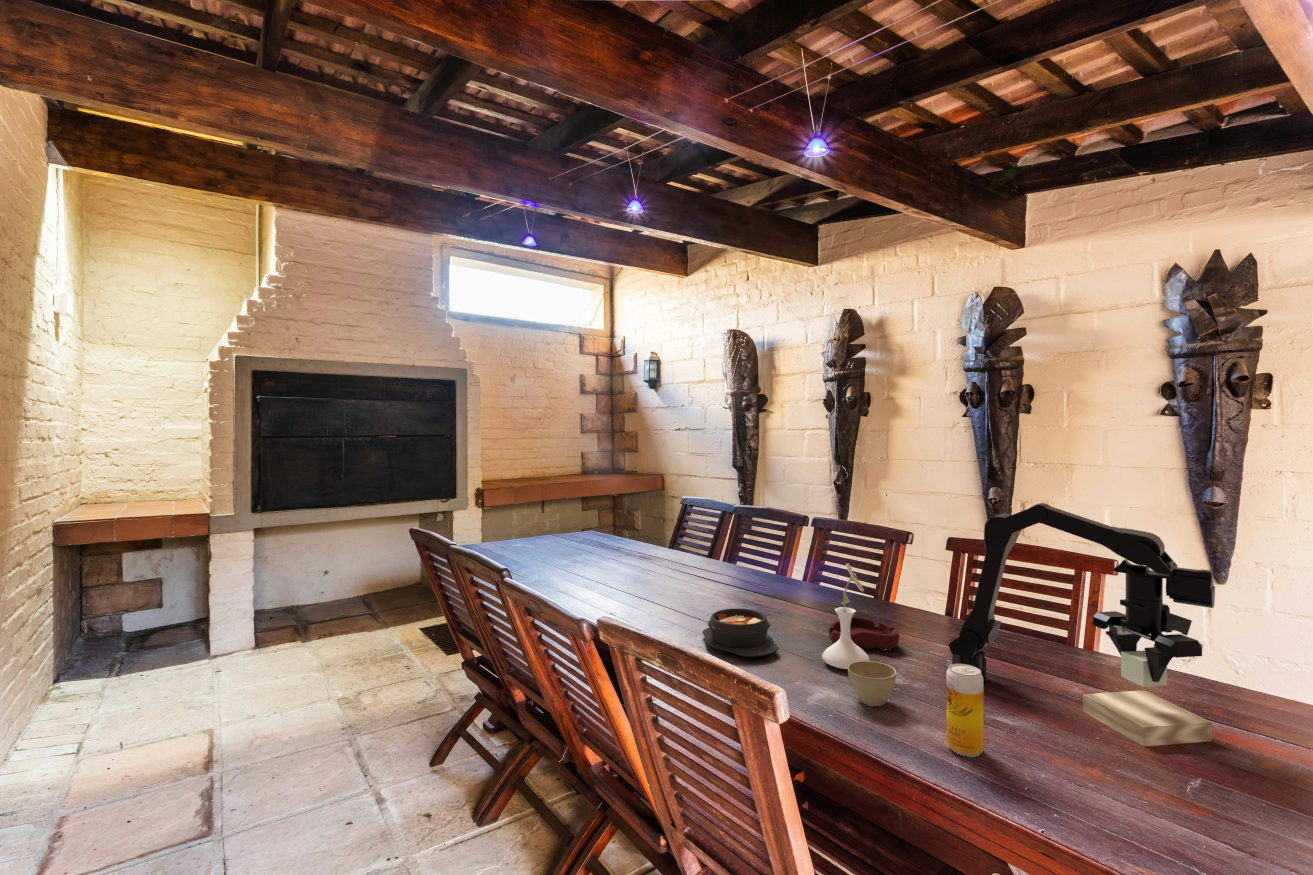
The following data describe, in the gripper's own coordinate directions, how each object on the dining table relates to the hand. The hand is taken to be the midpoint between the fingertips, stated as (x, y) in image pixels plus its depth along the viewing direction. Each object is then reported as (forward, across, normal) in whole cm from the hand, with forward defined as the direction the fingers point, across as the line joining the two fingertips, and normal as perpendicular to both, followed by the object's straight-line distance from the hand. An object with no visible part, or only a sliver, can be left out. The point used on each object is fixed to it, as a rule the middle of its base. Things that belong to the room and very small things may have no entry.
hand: (1143, 675), depth 121 cm
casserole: (+10, +54, +69) cm, 88 cm away
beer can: (+10, -4, +40) cm, 41 cm away
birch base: (+10, 0, 0) cm, 10 cm away
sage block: (+1, 0, 0) cm, 1 cm away
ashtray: (+10, +52, +35) cm, 63 cm away
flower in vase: (+10, +38, +45) cm, 59 cm away
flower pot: (+10, +17, +48) cm, 52 cm away
